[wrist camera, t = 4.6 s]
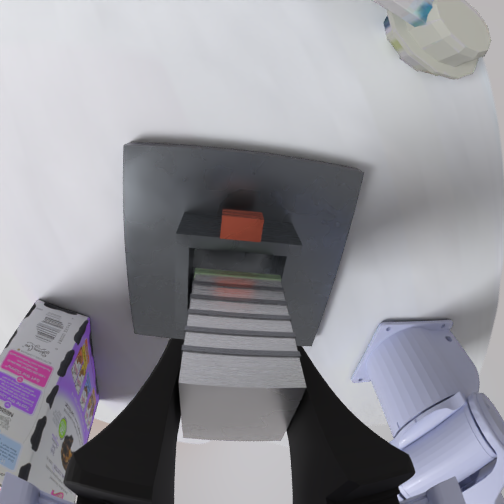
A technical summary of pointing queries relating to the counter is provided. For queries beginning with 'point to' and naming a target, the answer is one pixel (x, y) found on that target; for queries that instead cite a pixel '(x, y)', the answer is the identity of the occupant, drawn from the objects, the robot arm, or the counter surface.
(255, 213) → the stand
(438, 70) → the grey elongated piece
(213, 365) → the column
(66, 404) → the candy box
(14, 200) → the counter surface
